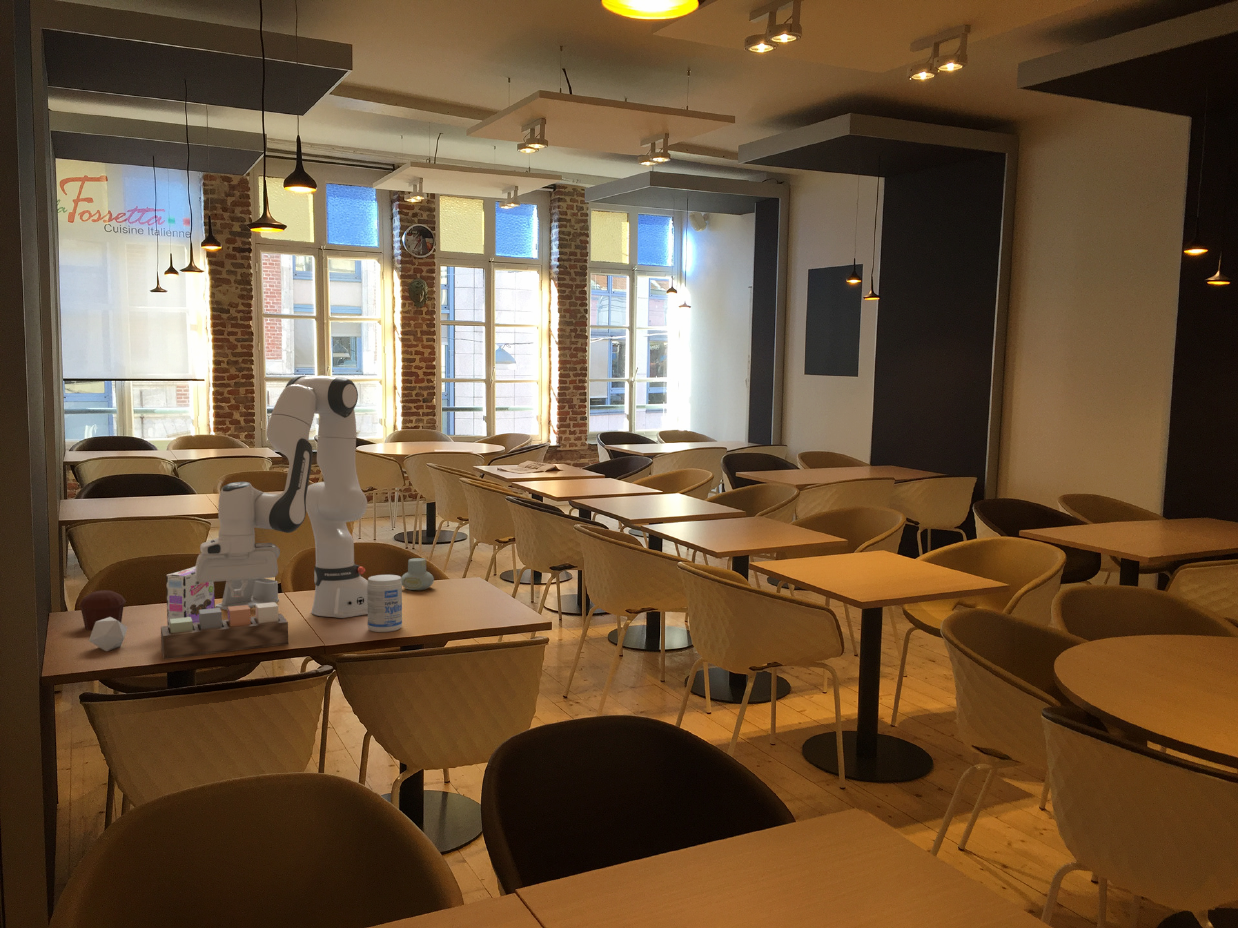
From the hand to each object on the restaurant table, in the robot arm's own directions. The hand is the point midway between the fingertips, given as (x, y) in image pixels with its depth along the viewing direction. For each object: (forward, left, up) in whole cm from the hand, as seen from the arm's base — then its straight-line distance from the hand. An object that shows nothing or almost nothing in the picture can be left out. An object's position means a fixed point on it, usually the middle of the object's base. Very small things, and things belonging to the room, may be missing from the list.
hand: (237, 596), depth 253 cm
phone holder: (-9, -47, -13) cm, 50 cm away
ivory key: (-7, 0, -8) cm, 11 cm away
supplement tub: (-39, +1, -13) cm, 41 cm away
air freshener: (-62, -44, -13) cm, 77 cm away
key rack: (+3, 0, -13) cm, 14 cm away
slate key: (+7, 0, -8) cm, 11 cm away
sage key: (+14, 0, -10) cm, 17 cm away
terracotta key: (0, 0, -8) cm, 8 cm away
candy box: (+9, -25, -13) cm, 30 cm away
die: (+30, -12, -13) cm, 35 cm away
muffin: (+31, -37, -13) cm, 50 cm away
